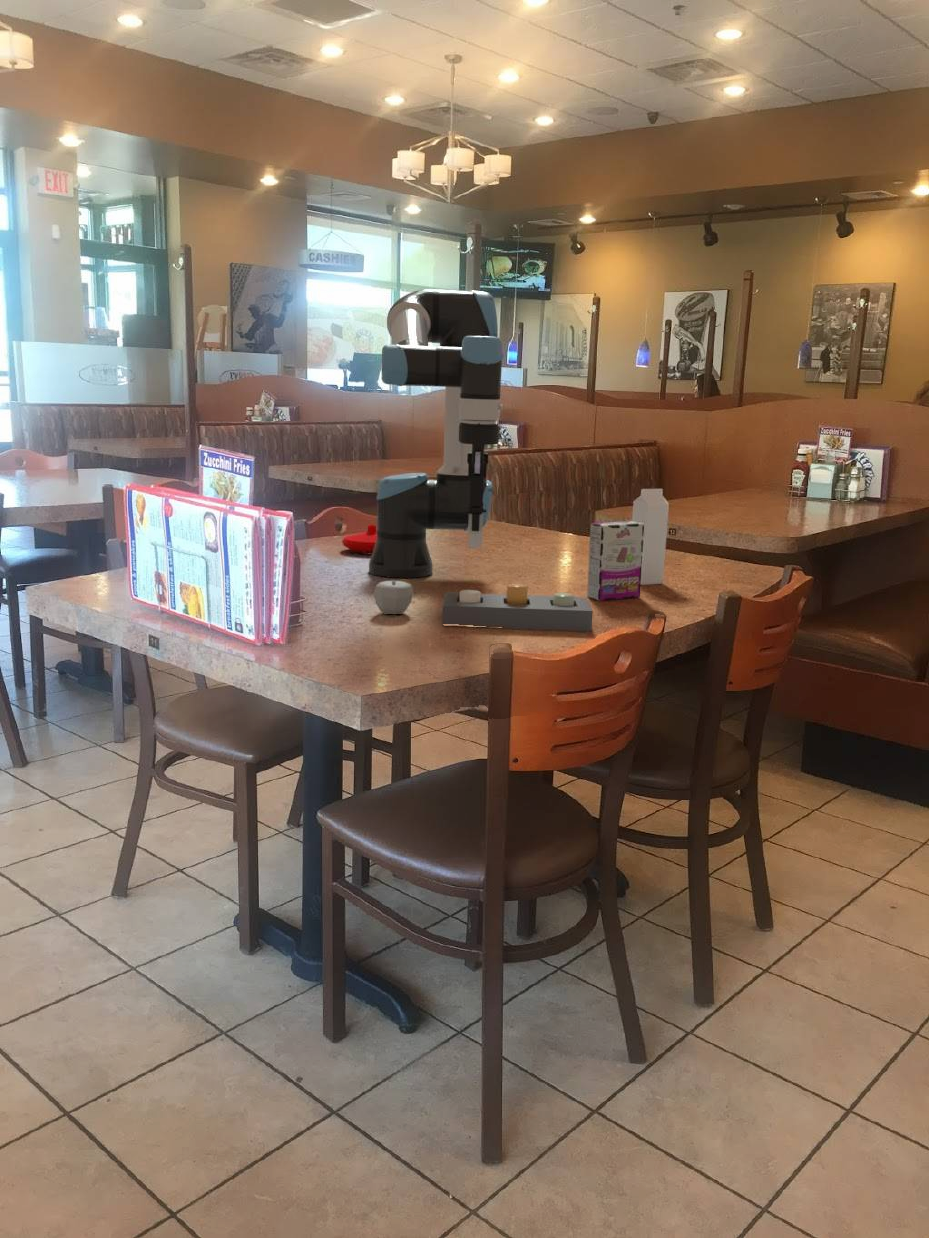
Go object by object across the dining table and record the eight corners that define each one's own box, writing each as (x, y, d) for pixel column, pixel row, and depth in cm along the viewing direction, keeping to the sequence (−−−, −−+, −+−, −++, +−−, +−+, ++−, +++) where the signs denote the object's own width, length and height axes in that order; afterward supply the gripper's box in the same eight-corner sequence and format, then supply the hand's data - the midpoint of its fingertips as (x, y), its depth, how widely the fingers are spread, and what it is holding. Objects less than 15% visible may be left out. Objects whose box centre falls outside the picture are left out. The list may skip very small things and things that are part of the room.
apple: (397, 620, 191) (398, 586, 190) (364, 614, 195) (365, 581, 194) (421, 613, 198) (422, 580, 196) (388, 607, 202) (389, 575, 200)
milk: (662, 584, 235) (671, 490, 230) (641, 585, 233) (648, 490, 228) (648, 579, 241) (656, 487, 235) (626, 580, 238) (634, 487, 233)
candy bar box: (626, 593, 223) (632, 520, 219) (640, 598, 219) (646, 523, 215) (585, 596, 218) (589, 522, 214) (598, 601, 214) (603, 525, 210)
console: (442, 626, 188) (442, 605, 187) (444, 612, 199) (445, 592, 198) (591, 631, 187) (592, 611, 186) (585, 617, 199) (586, 597, 198)
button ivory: (458, 616, 191) (459, 593, 190) (459, 612, 195) (460, 589, 194) (479, 617, 191) (480, 594, 190) (479, 612, 195) (480, 590, 194)
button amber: (506, 610, 191) (507, 587, 190) (505, 606, 195) (506, 583, 194) (527, 611, 191) (528, 588, 190) (526, 607, 195) (527, 584, 194)
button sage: (552, 620, 191) (554, 597, 190) (551, 615, 195) (552, 592, 194) (573, 620, 191) (575, 598, 190) (572, 616, 195) (573, 593, 194)
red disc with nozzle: (350, 545, 274) (350, 520, 273) (406, 549, 272) (407, 523, 271) (335, 555, 259) (335, 528, 258) (394, 558, 257) (395, 531, 256)
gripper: (499, 425, 180) (494, 554, 186) (499, 420, 192) (494, 541, 198) (457, 423, 180) (453, 552, 186) (460, 419, 192) (456, 540, 198)
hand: (474, 547), depth 192 cm, fingers closed
